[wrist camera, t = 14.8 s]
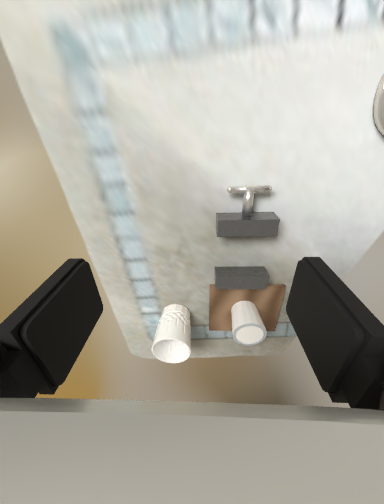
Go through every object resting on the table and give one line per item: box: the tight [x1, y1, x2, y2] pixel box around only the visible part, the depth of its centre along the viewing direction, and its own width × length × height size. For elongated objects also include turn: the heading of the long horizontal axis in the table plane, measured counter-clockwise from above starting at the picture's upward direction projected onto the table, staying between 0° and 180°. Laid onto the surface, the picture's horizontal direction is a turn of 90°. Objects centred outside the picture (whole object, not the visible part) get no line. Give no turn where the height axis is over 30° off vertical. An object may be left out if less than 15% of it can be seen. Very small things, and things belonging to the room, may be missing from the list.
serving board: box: [209, 285, 286, 331], centre depth 48 cm, size 16×14×1 cm
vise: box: [215, 186, 280, 289], centre depth 38 cm, size 10×20×4 cm, turn 2°
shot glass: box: [231, 301, 267, 346], centre depth 45 cm, size 7×7×7 cm
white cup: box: [152, 304, 191, 363], centre depth 46 cm, size 8×8×10 cm
